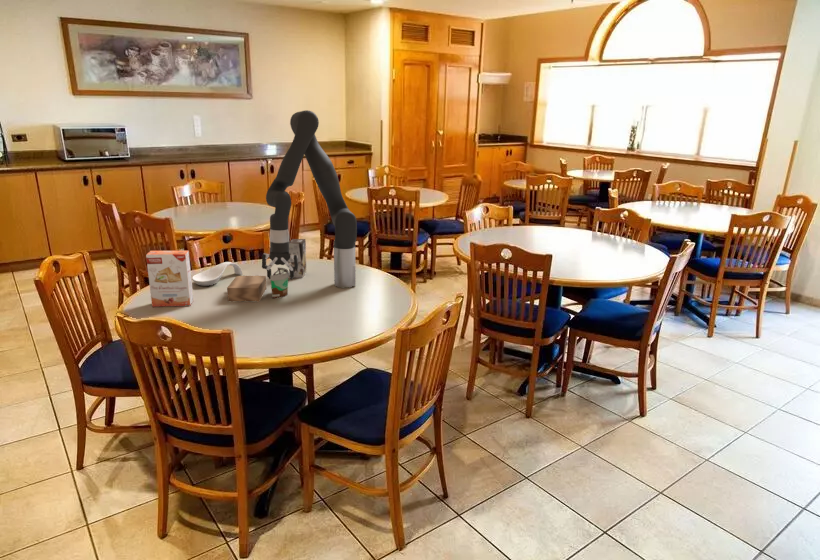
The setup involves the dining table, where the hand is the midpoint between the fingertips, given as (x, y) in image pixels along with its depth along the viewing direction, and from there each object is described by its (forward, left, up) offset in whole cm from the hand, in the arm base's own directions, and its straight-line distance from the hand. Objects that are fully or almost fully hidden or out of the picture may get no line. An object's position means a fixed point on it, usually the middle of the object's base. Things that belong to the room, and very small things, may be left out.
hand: (280, 278), depth 219 cm
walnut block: (+13, 0, -7) cm, 15 cm away
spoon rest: (+30, -19, -7) cm, 37 cm away
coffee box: (-4, -28, -7) cm, 29 cm away
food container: (-1, 0, -7) cm, 7 cm away
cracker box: (+39, +11, -7) cm, 42 cm away
